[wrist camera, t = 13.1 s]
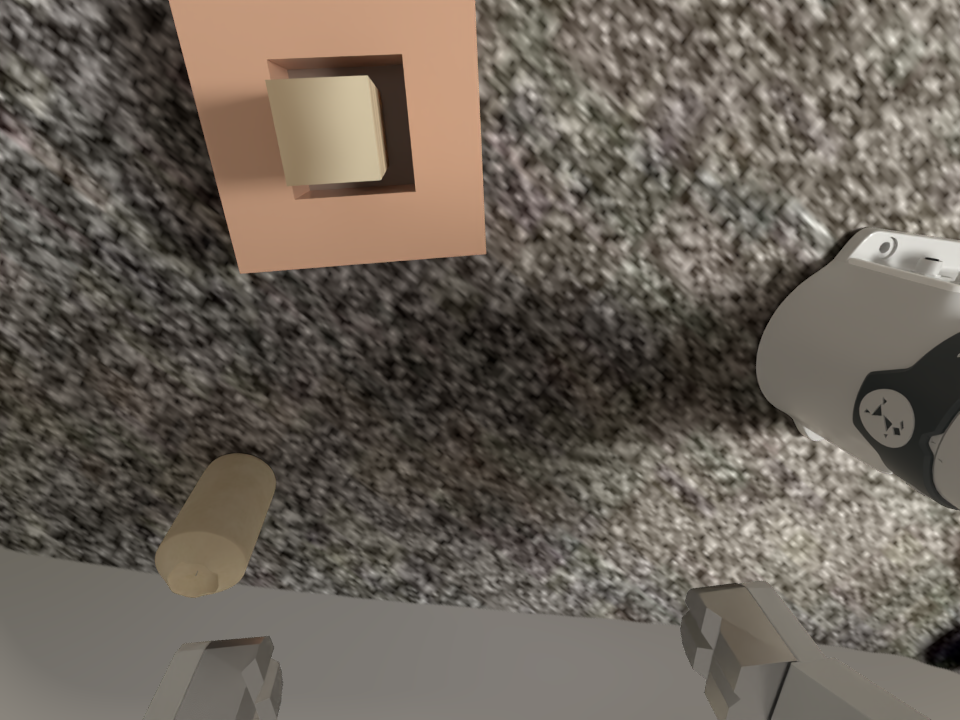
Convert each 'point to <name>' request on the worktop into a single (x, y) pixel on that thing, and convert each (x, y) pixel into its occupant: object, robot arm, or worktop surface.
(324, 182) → the peg
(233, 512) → the candle
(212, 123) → the well block
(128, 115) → the worktop surface
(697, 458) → the worktop surface
